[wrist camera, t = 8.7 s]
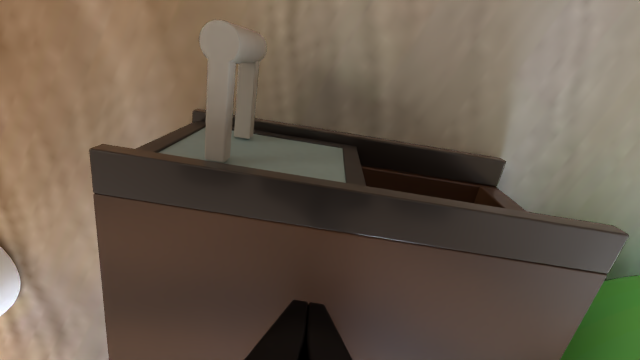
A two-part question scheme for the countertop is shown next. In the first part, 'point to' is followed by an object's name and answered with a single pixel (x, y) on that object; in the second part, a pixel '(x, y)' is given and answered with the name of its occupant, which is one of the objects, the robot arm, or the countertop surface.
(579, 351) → the toy bird
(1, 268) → the milk bottle
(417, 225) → the cupboard
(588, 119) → the countertop surface
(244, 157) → the glass door
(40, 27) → the countertop surface
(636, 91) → the countertop surface
